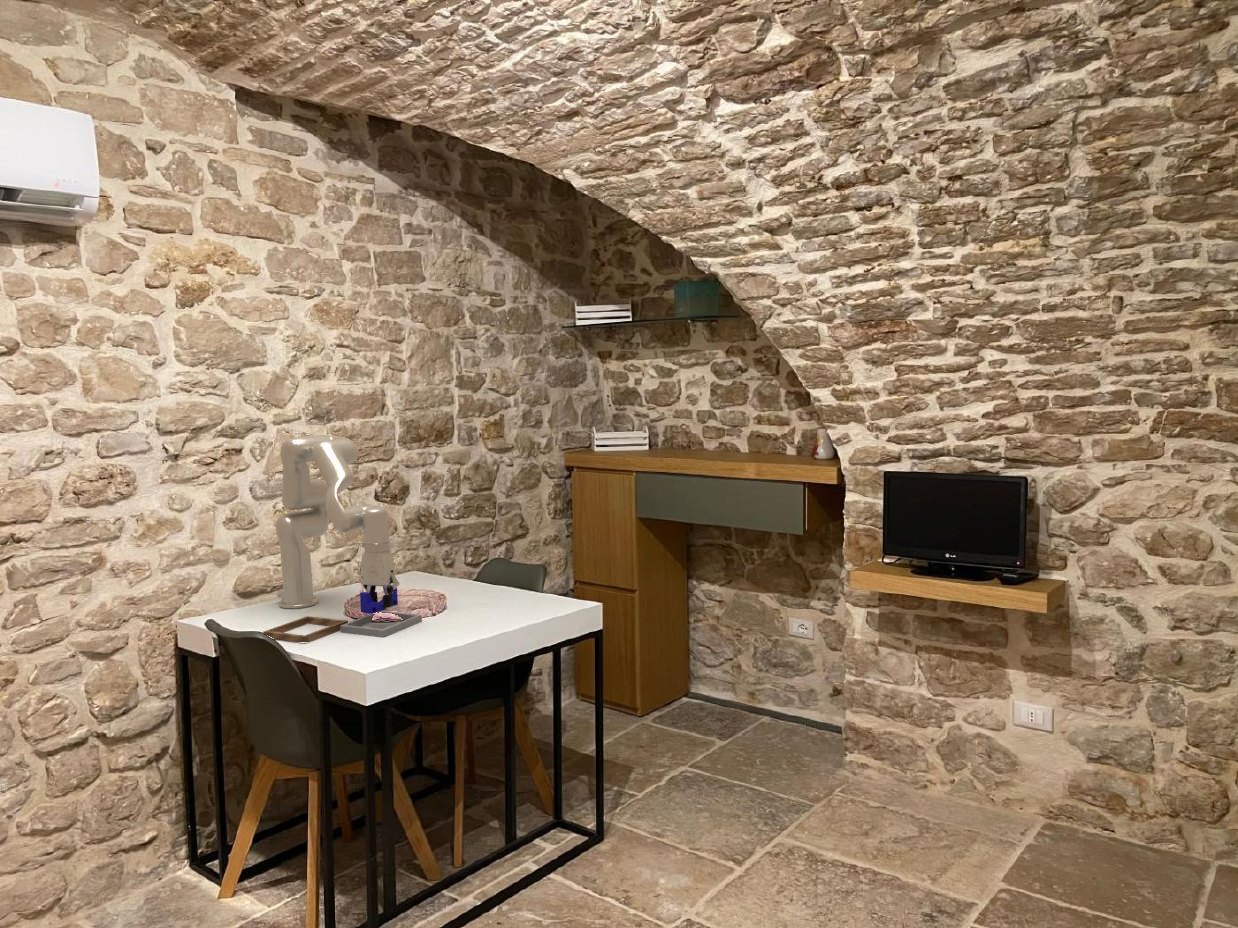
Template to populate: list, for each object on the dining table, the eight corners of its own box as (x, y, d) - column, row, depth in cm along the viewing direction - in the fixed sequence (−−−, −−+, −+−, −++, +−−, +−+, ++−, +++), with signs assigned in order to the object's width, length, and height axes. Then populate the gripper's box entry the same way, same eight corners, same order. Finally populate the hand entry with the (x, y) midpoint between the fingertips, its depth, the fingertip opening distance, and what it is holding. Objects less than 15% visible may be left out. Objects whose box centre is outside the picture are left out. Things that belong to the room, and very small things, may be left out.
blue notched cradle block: (370, 613, 287) (369, 594, 286) (360, 612, 289) (359, 592, 289) (401, 605, 296) (400, 586, 296) (391, 603, 299) (390, 584, 298)
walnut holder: (263, 638, 285) (263, 631, 284) (307, 622, 301) (307, 616, 301) (305, 643, 278) (305, 636, 277) (348, 626, 294) (348, 620, 294)
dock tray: (340, 632, 289) (340, 625, 288) (380, 616, 305) (379, 610, 305) (383, 637, 282) (383, 630, 281) (421, 621, 298) (421, 614, 298)
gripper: (347, 548, 291) (350, 607, 293) (391, 551, 284) (395, 611, 286) (363, 544, 298) (367, 601, 300) (407, 546, 291) (410, 605, 292)
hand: (380, 605), depth 293 cm, fingers closed on blue notched cradle block, 4 cm apart
